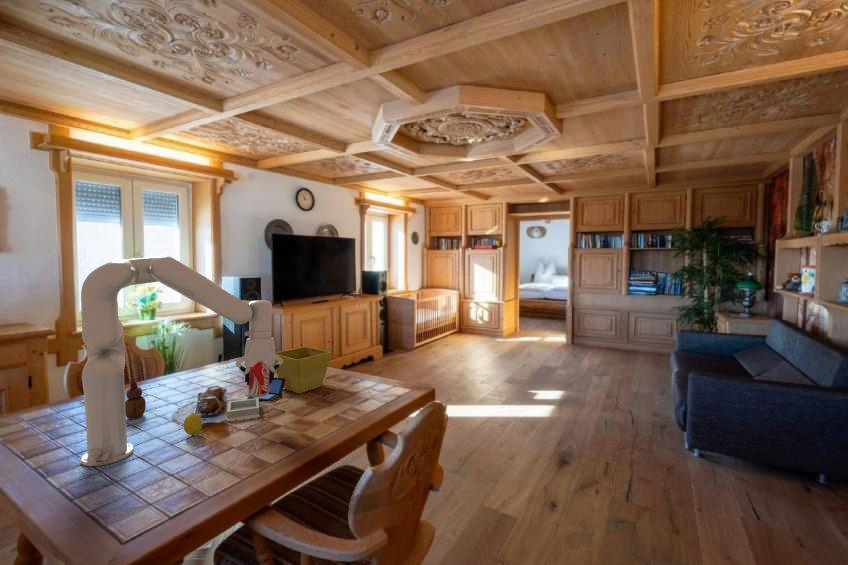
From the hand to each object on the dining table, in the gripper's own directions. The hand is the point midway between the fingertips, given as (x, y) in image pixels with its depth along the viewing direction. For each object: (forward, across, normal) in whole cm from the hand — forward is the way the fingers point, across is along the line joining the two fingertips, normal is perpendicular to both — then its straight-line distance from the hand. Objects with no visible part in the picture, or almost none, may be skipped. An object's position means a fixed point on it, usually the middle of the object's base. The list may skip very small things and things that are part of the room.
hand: (259, 382), depth 146 cm
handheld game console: (+15, +4, +29) cm, 33 cm away
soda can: (+5, 0, 0) cm, 5 cm away
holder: (+15, -5, +13) cm, 21 cm away
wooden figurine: (+17, -43, +24) cm, 52 cm away
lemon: (+16, -21, -2) cm, 26 cm away
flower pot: (+15, +19, +35) cm, 43 cm away
